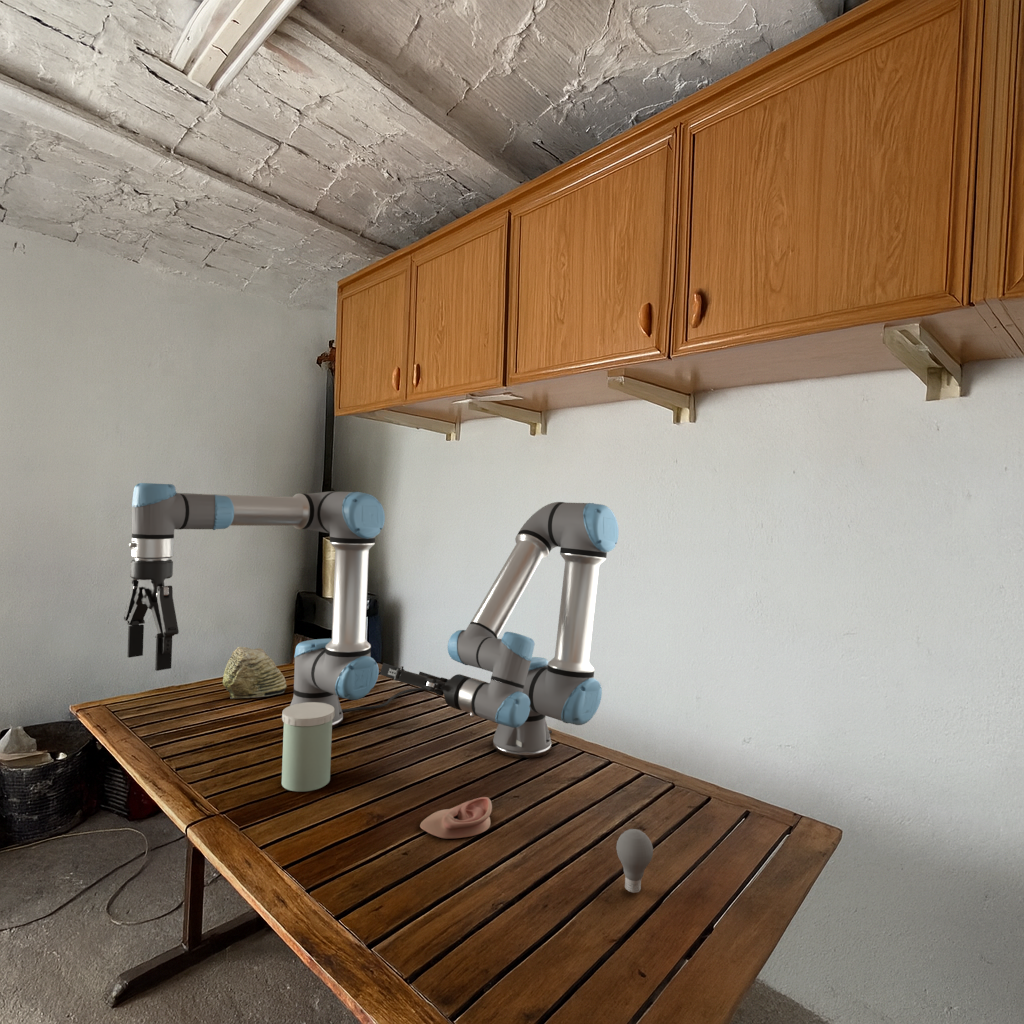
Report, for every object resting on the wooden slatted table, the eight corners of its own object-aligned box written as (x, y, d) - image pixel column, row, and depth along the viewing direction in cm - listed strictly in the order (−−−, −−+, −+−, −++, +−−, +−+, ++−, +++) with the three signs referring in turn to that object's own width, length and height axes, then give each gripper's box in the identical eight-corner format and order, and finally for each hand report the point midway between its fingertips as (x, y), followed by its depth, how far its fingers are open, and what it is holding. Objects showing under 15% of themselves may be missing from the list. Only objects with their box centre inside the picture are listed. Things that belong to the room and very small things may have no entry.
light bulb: (610, 879, 108) (613, 822, 108) (644, 879, 109) (647, 822, 109) (619, 902, 102) (622, 840, 102) (655, 901, 103) (658, 840, 103)
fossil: (218, 695, 195) (220, 647, 195) (278, 685, 208) (279, 640, 207) (228, 703, 189) (230, 653, 188) (289, 692, 201) (290, 645, 201)
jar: (332, 788, 138) (335, 717, 138) (282, 794, 134) (285, 722, 134) (327, 768, 147) (330, 703, 147) (280, 774, 144) (283, 706, 143)
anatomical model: (414, 813, 120) (434, 787, 131) (414, 834, 120) (433, 806, 131) (482, 823, 117) (496, 795, 129) (481, 844, 118) (495, 815, 129)
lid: (337, 724, 137) (337, 716, 137) (282, 728, 133) (283, 720, 133) (331, 707, 148) (331, 700, 148) (281, 711, 144) (281, 704, 144)
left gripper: (108, 554, 134) (104, 654, 134) (159, 565, 118) (155, 678, 119) (146, 552, 140) (143, 648, 140) (199, 563, 124) (195, 671, 124)
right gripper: (427, 704, 133) (360, 681, 146) (493, 716, 153) (428, 694, 165) (438, 669, 135) (370, 649, 147) (501, 685, 154) (437, 665, 167)
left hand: (148, 662), depth 129 cm, fingers open, 13 cm apart
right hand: (401, 672), depth 156 cm, fingers open, 13 cm apart
